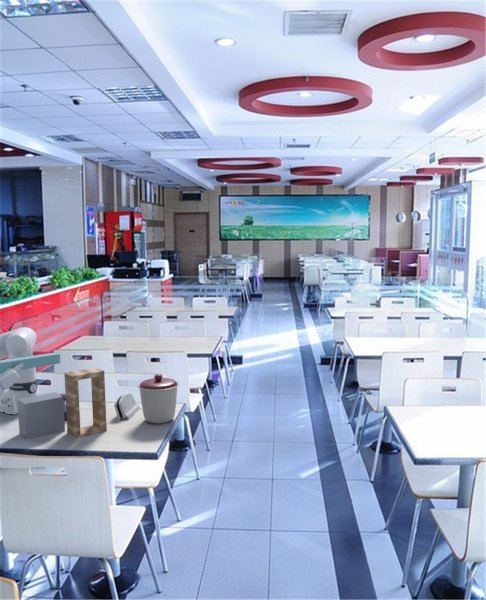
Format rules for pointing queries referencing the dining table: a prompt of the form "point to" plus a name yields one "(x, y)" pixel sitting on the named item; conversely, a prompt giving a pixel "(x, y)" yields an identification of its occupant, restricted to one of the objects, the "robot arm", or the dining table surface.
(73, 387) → the stand
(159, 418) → the canister
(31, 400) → the low step
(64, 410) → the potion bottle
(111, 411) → the dining table surface
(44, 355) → the teal bar
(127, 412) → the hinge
